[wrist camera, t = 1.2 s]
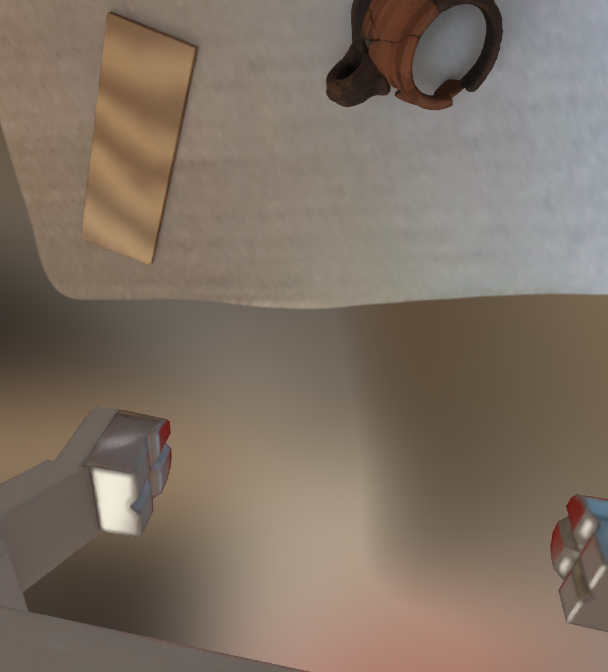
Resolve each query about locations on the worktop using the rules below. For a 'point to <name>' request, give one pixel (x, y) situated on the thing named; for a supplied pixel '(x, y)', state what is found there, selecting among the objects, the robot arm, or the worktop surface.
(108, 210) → the wooden board
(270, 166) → the worktop surface
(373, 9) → the pottery mug
